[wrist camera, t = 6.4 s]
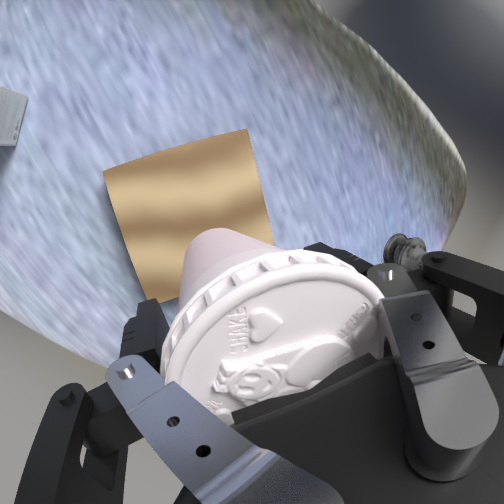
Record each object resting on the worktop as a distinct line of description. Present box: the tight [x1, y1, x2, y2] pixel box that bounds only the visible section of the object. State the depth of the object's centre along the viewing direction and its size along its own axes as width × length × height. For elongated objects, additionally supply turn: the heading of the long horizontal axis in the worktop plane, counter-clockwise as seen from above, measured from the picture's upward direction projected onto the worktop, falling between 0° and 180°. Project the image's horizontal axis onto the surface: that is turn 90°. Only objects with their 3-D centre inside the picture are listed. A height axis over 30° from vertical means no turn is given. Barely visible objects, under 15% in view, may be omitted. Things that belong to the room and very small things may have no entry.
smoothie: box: [160, 228, 384, 426], centre depth 9 cm, size 6×6×14 cm
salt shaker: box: [384, 233, 428, 272], centre depth 34 cm, size 6×6×12 cm
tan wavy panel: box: [102, 129, 275, 303], centre depth 29 cm, size 14×14×3 cm
